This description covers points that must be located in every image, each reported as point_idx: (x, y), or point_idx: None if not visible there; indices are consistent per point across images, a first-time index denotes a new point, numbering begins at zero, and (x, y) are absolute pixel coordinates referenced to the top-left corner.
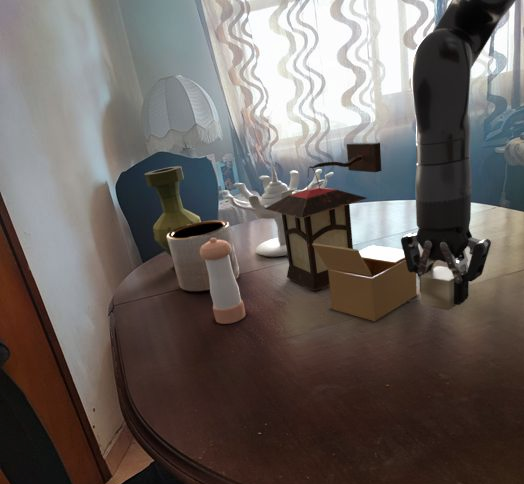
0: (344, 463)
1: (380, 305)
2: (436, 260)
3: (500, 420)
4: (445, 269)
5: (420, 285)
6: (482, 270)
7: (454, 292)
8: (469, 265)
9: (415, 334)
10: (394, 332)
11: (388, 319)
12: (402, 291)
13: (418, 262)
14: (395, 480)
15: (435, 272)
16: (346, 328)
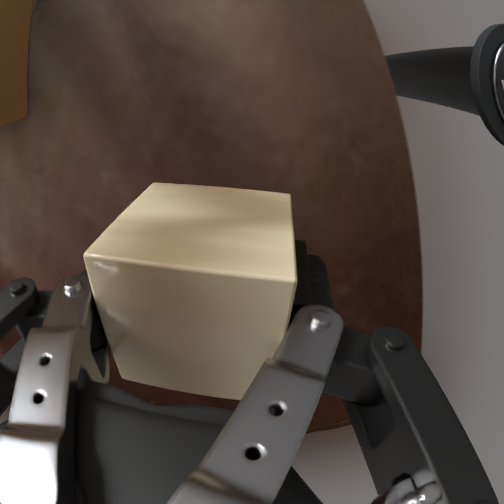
0: None
1: (6, 97)
2: (80, 326)
3: (401, 308)
4: (162, 302)
5: None
6: (419, 359)
7: None
8: (365, 453)
9: (130, 111)
10: (86, 131)
11: (43, 88)
12: (9, 8)
13: (23, 323)
14: (317, 409)
15: (145, 343)
16: (14, 176)
